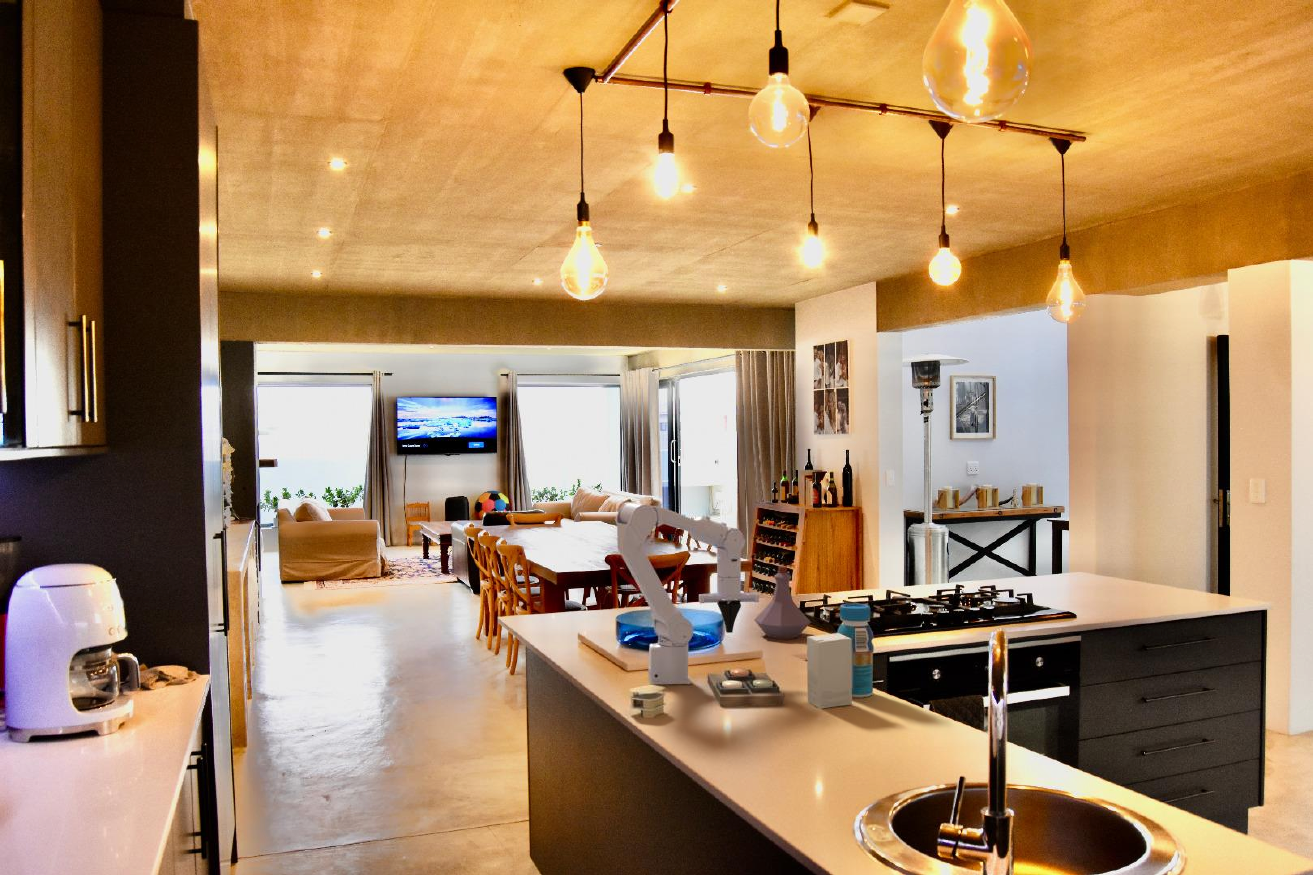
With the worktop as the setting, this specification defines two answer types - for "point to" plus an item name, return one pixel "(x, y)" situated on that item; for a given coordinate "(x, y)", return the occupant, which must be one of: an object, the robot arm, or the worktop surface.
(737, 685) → the cream button
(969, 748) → the worktop surface
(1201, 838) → the worktop surface
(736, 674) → the terracotta button
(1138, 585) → the worktop surface
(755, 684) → the sage button
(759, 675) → the button board
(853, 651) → the beverage bottle
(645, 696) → the beige layered block
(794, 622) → the flask
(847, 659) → the skincare box
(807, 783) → the worktop surface
